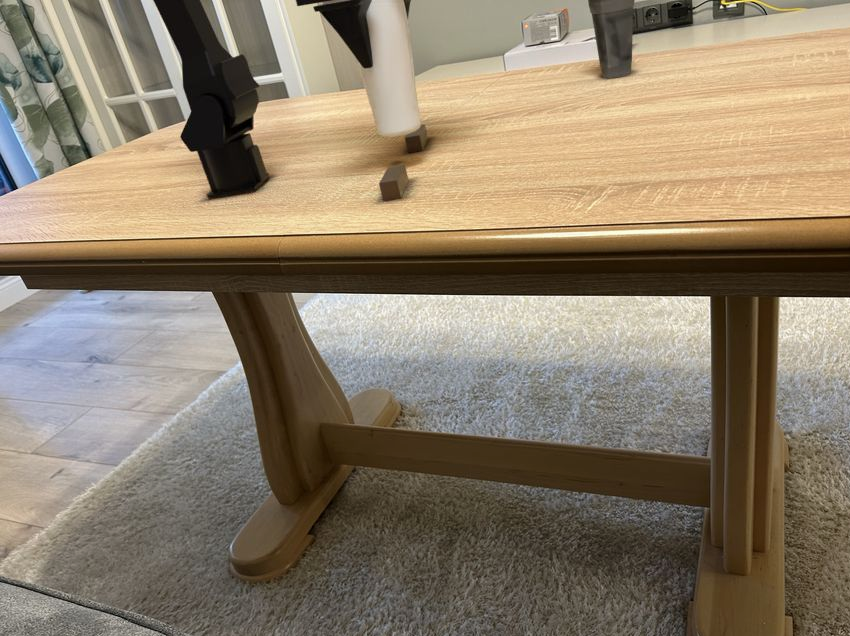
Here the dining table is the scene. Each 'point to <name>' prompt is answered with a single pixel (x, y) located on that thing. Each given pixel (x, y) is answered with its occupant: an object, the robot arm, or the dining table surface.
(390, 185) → the near stick
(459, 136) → the dining table surface
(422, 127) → the far stick
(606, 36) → the beverage cup
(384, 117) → the drinking glass
